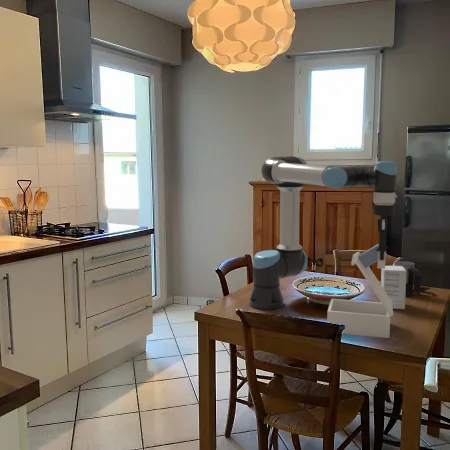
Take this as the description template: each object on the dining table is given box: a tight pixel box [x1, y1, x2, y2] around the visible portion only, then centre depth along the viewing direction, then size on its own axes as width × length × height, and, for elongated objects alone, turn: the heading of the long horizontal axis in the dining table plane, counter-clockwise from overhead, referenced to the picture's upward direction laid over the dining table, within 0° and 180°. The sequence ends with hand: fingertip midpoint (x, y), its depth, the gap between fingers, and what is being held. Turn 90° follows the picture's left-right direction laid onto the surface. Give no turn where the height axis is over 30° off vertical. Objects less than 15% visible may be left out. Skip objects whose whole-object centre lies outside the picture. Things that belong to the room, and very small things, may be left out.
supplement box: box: [379, 265, 406, 310], centre depth 203 cm, size 10×9×17 cm
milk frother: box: [393, 260, 431, 297], centre depth 221 cm, size 14×16×15 cm
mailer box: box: [326, 298, 391, 339], centre depth 179 cm, size 22×16×8 cm
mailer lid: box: [350, 243, 394, 317], centre depth 174 cm, size 23×16×12 cm
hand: (381, 267), depth 174 cm, fingers closed on mailer lid, 3 cm apart
